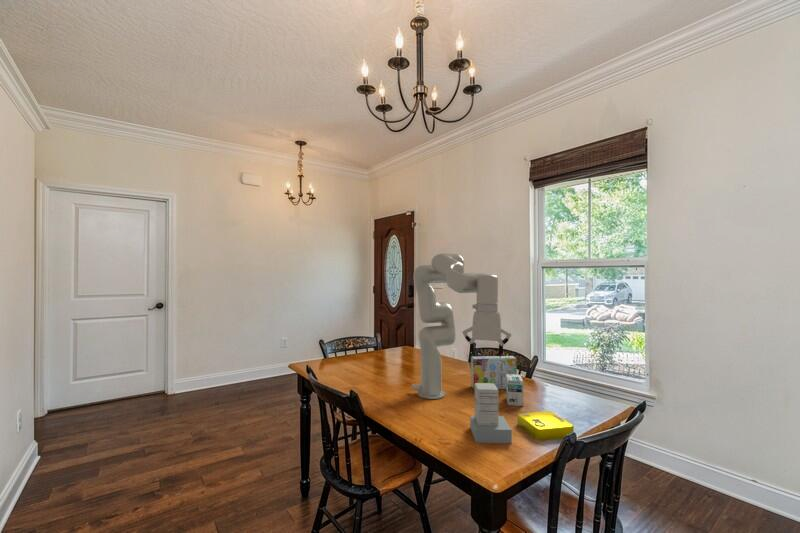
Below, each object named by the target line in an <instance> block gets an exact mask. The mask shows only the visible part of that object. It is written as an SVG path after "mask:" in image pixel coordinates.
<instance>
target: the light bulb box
mask: <svg viewBox="0 0 800 533" xmlns="http://www.w3.org/2000/svg"><path fill="white" fill-rule="evenodd" d="M524 381H525V380H524V379H523V377H522V374H517V375H515V374H506V389H505V390H506V400H507V401H506V402H507V406H515V407H516V406H517V407H518V406H519V407H524V402H525V401H524V396H525V395H524V389H525V388H524Z"/></svg>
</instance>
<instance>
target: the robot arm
mask: <svg viewBox="0 0 800 533" xmlns="http://www.w3.org/2000/svg"><path fill="white" fill-rule="evenodd" d="M464 260H465V259H464V258H463V256H461V255H460V254H457V253H438V254H435V255H434V256H433V257H432V259H431V262H430V263H431V264H423V265H419V266H417V267H416V268H415V269H414V271H413V284H414V286H415V289H416V290H415V291H416V293H417V294H416V295H417V300H418V310H419V318H420V320H421V322H422V323H424V324H438V323H439V324H440V325H430V326H429V325H428V326H424V327H423V328H421V329H420V330H419V332H418V341H419V342H418V343H419V348H420V383H419V384H414V383H413V384H412V383H411V389H412V390H413V391H417V396H418V397H419V398H421V399H426V400H427V399H428V400H438V399H441V398H444V397H445V396H446V392H445V391H444V390H443V389H442V386H443V385H442V383H443V382H442V355H441V352H440V351H439V349H438V347H447V346H451V345H453V344H454V343H455V341H456V336H457V335H456V327H455V316H454V312H453V308H452V306H451V304H449V303H448V302H442V301H441V302H438V300H437V294H436V291H435V289H434V288H433V286H432V285H431V284H444V283H445V284H446V286H447V287H448V288H449V289H450V290H453V291H454V292H456V293H460V294H476V303H474V304H471V307H472V309H475V311H474V312H473V317H472V326H470V327H468V328H466V329H464V330H462V334H463V337H464V338H465V340H466V341H467V342H468V344H469V352H470V353H471V356H473V355H475V341H476V340H477V341H489V342H490V341H491V342H498V344H499V345H498V356H499V357H501V356H502V355H504V345H506V343H508V342H509V340H510V338H511V337H512V333H511V332H509V331H507V330H506V329H503V327H502V320H501V314H500V312H498V301H499V300H498V298H499V297H498V296H499V294H498V292H499V279H498V276H497V274H496V275H495V274H487V273H481V272H476V273H475V272H465V261H464ZM470 332H471V333H472V334H471V337H470V336H469V334H468V333H470ZM502 334H503V335H505V338H504V339H502Z"/></svg>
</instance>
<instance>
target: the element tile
mask: <svg viewBox="0 0 800 533" xmlns="http://www.w3.org/2000/svg"><path fill="white" fill-rule="evenodd" d="M516 418H517V421H516V422H517V427H519V428H520V429H522V430H523V432H525V433H526V434H527V435H529V436H530V437H531V438H532V439H534V440H536V441H542V442H543V441H552V440H553V441H554V440H562V439H563V438H564V437H565V436H566V435H567V434H570V433H574V434H575V432H574V428H575V426H574V425H573V423H571V422H569V421H568V420H566V419H565V418H563V417H561V416H560V415H559V414H557V413H555V412H554V411H551V410H544V411H532V412H531V411H530V412H522V413H521V412H520V413H517V416H516ZM564 439H565V438H564ZM564 439H563V440H564Z"/></svg>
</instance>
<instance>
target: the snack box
mask: <svg viewBox="0 0 800 533" xmlns="http://www.w3.org/2000/svg"><path fill="white" fill-rule="evenodd" d="M517 369H518V368H517V358H516V357H515V356H513V355H504V356H503V355H501V357H499V355H498V356H495V355H494V356H493V355H490V356H479V355H478V356H470V374H471V376H470V377H471V378H470V379H471V380H470V382H471V385H470V386H471V388H472V389H473V390H475V383H494V384H495V386H496V387H497V389H498V390H506V374H515V375H518V373H517Z"/></svg>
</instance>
